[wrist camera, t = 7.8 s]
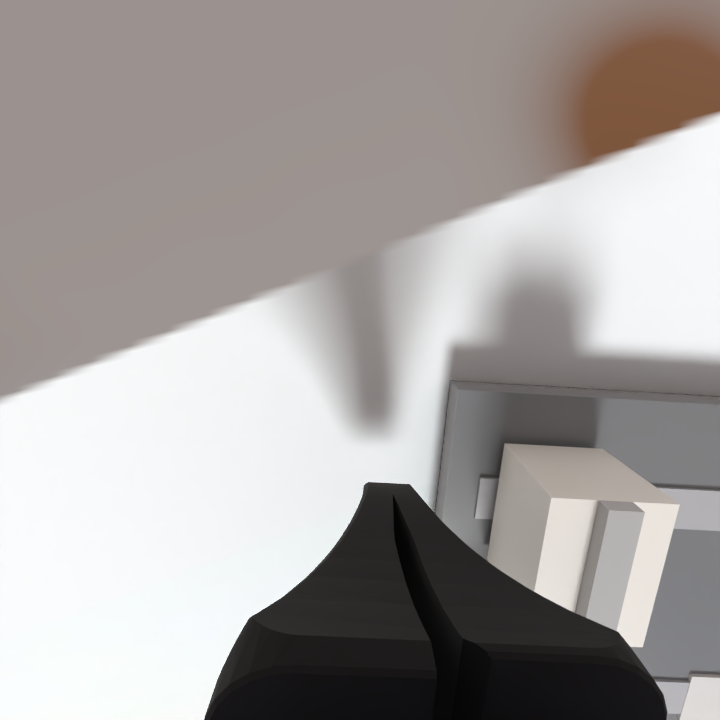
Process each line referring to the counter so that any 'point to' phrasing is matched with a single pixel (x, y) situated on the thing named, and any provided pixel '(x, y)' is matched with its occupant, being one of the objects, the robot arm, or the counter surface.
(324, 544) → the counter surface
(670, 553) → the switch panel
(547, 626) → the robot arm
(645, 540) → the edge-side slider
